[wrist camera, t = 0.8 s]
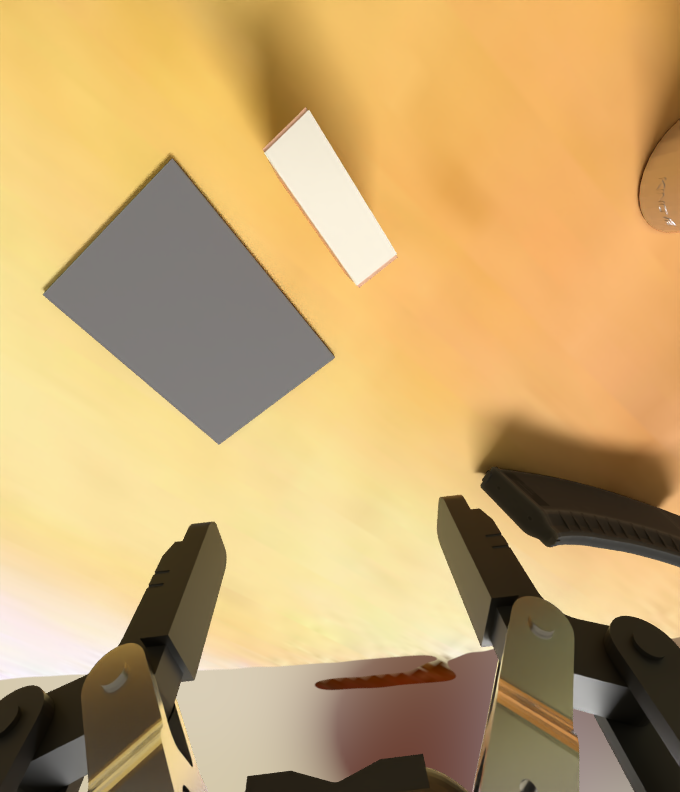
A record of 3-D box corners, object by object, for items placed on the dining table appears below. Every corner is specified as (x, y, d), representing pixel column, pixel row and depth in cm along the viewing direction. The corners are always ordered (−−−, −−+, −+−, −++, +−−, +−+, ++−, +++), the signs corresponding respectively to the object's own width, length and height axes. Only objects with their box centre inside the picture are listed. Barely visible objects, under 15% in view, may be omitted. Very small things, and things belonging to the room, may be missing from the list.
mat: (174, 159, 24) (172, 158, 24) (334, 356, 32) (334, 357, 32) (46, 294, 28) (42, 294, 27) (219, 442, 35) (218, 444, 35)
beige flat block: (308, 150, 25) (306, 105, 17) (373, 252, 28) (398, 256, 20) (277, 178, 25) (261, 149, 17) (345, 274, 29) (358, 288, 21)
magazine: (494, 533, 32) (796, 658, 30) (511, 510, 31) (827, 638, 29) (466, 449, 48) (664, 528, 46) (477, 431, 47) (681, 511, 45)
